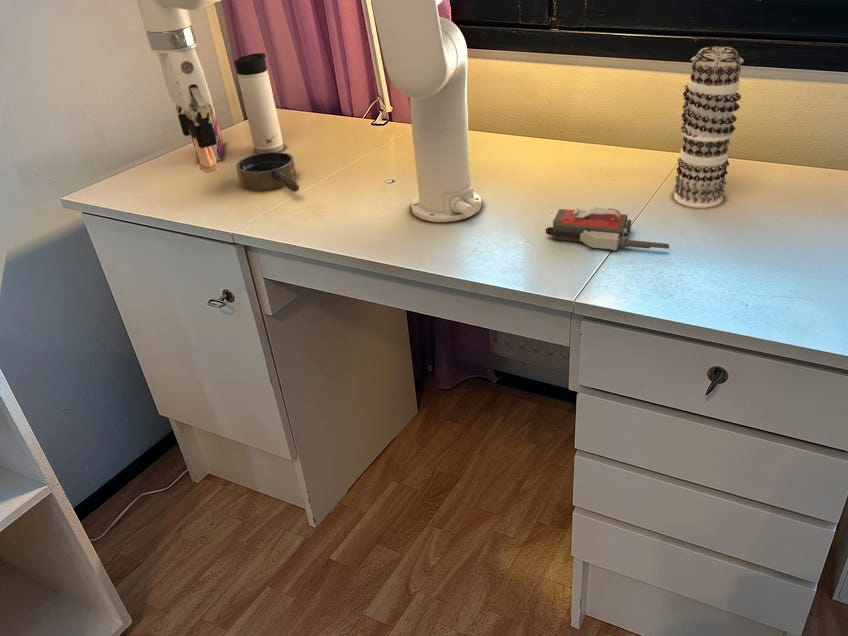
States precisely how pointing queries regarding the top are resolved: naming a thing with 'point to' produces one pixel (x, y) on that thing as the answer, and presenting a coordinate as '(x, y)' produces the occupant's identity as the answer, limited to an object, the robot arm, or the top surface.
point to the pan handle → (286, 180)
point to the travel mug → (259, 103)
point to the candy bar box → (219, 146)
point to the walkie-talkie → (596, 229)
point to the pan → (264, 170)
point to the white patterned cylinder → (707, 126)
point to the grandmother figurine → (206, 153)
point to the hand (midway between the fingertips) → (200, 139)
